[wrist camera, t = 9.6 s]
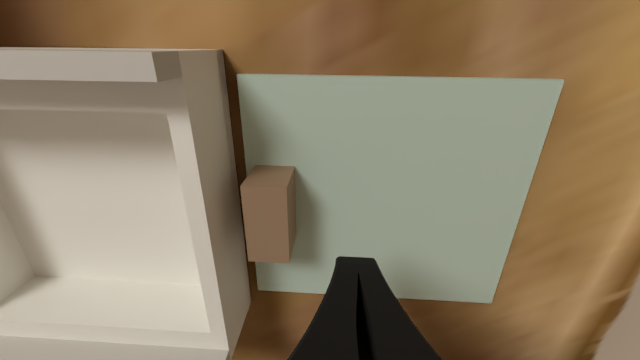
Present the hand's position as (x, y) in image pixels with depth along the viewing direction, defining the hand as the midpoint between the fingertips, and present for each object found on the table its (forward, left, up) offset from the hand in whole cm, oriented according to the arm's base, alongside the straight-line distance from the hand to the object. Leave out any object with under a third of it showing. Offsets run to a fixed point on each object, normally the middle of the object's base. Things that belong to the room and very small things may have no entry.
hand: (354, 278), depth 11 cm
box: (0, +13, -6) cm, 14 cm away
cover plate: (0, -2, -6) cm, 7 cm away
